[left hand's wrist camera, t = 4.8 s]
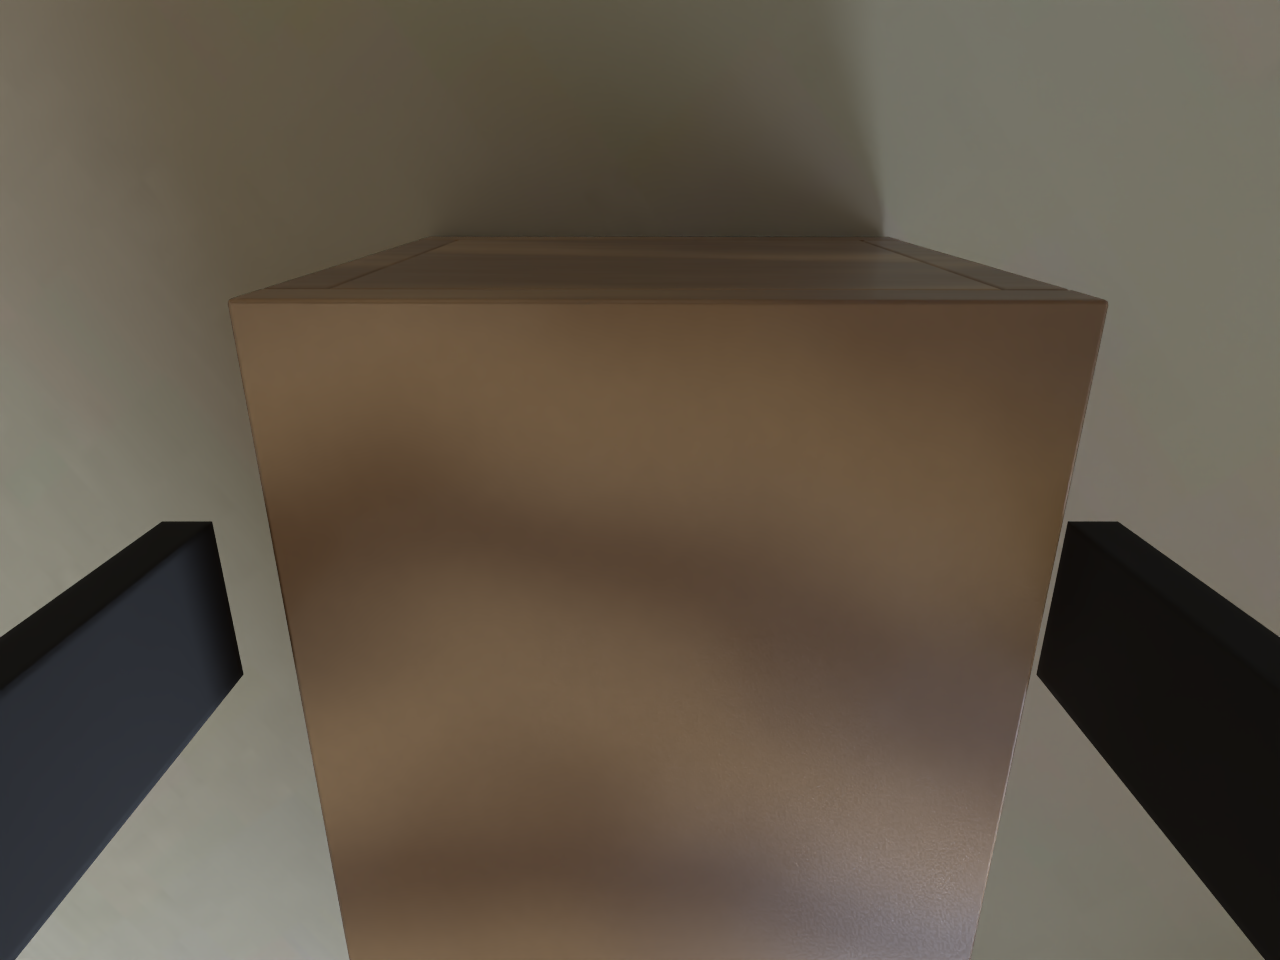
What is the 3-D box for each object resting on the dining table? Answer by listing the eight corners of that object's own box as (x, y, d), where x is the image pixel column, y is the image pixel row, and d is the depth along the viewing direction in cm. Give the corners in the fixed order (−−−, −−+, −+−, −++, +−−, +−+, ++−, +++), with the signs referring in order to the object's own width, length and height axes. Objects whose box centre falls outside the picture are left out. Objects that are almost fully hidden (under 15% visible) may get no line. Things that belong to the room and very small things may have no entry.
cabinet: (819, 880, 26) (909, 1255, 17) (487, 877, 26) (401, 1247, 17) (889, 236, 18) (1111, 300, 10) (427, 236, 19) (225, 298, 10)
